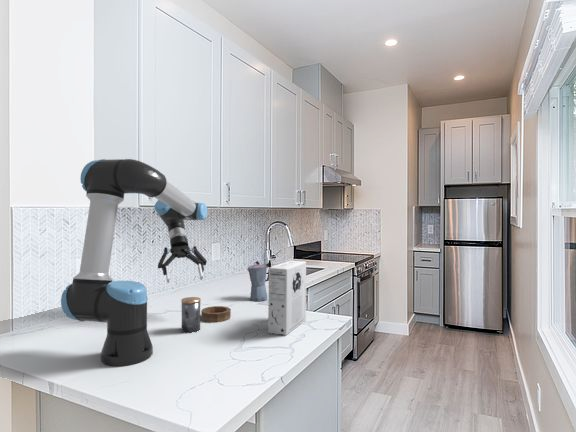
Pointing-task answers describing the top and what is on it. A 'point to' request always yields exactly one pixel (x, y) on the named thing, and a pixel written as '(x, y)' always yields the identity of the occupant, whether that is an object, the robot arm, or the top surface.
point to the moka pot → (258, 281)
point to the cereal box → (286, 297)
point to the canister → (190, 314)
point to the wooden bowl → (216, 314)
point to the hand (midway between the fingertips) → (185, 279)
